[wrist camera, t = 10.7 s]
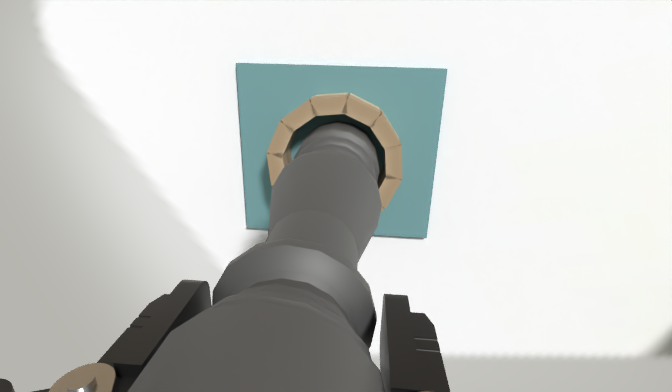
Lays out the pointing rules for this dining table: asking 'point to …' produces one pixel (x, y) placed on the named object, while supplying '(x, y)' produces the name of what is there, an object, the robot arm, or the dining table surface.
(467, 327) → the dining table surface
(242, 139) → the runner mat
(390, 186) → the segmented wooden ring
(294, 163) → the candle holder
